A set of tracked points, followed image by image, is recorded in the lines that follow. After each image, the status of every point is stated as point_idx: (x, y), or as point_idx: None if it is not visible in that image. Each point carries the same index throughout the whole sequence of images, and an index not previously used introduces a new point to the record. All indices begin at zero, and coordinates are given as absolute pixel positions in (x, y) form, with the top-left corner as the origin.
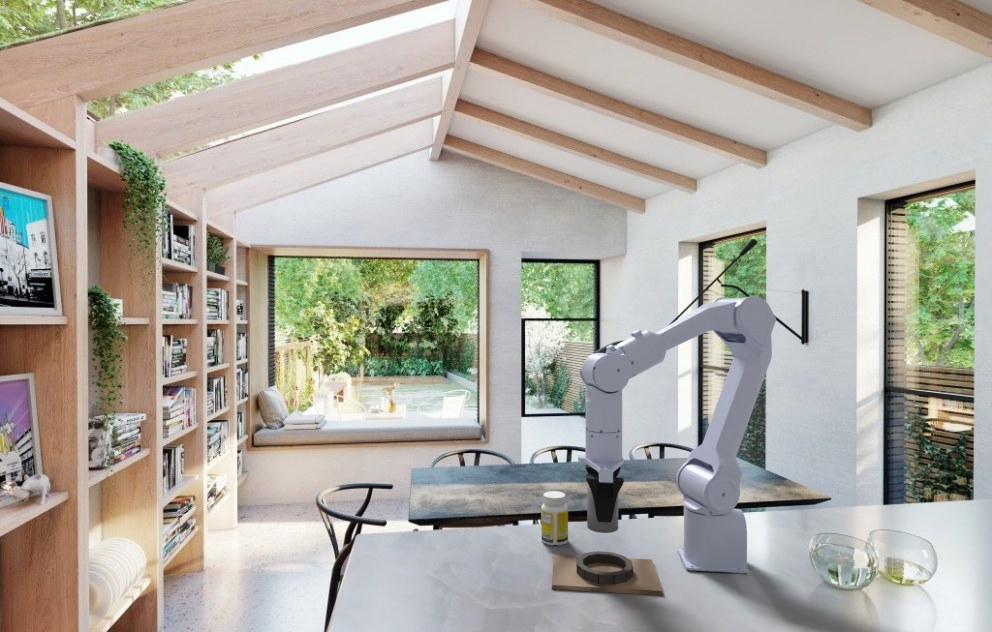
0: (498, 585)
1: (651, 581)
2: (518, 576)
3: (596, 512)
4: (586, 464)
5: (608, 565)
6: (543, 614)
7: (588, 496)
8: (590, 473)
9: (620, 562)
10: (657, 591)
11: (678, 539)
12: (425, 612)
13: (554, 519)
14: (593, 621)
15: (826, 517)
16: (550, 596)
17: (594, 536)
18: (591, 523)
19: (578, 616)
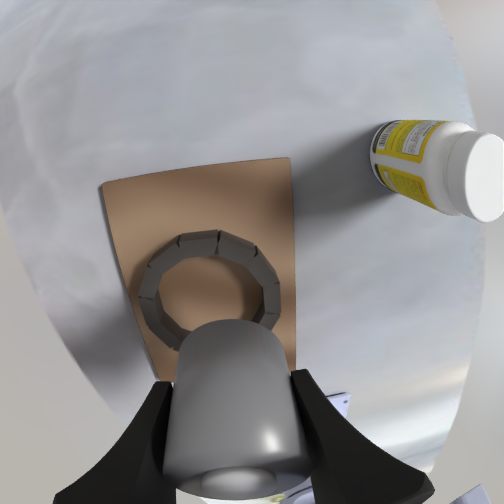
0: (96, 58)
1: None
2: (150, 84)
3: (142, 406)
4: (423, 496)
5: (247, 301)
6: (17, 191)
7: (196, 426)
8: (337, 497)
9: None
10: (159, 375)
11: (396, 384)
12: (3, 7)
13: (409, 165)
14: (32, 277)
15: (420, 461)
16: (75, 186)
17: (425, 251)
18: (187, 350)
19: (33, 252)
